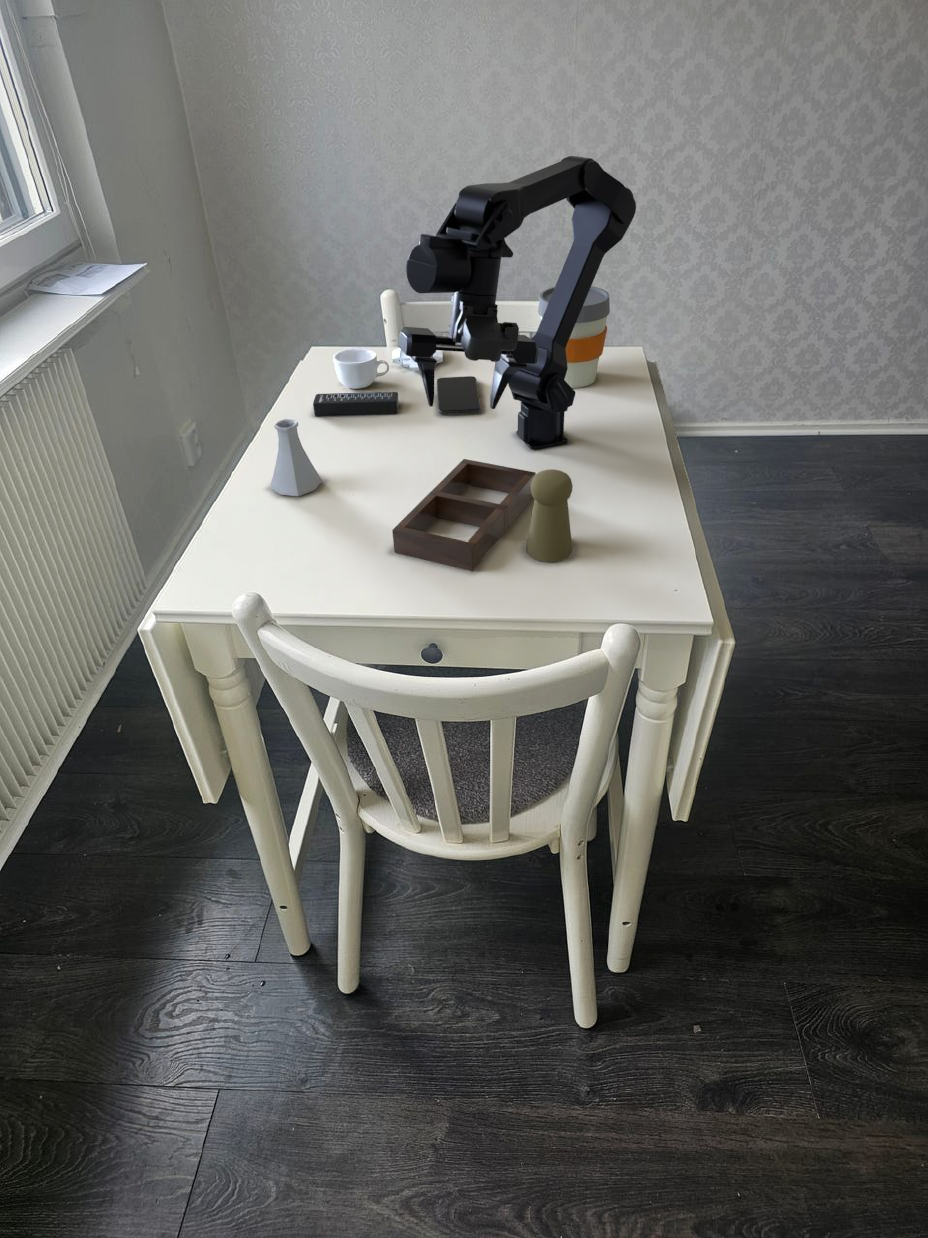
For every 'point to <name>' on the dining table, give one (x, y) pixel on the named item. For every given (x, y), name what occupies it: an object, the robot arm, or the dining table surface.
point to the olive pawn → (550, 517)
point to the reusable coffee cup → (584, 336)
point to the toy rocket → (407, 361)
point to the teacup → (357, 367)
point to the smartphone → (458, 395)
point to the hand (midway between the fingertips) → (461, 407)
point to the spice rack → (464, 514)
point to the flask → (292, 463)
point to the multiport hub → (356, 404)
